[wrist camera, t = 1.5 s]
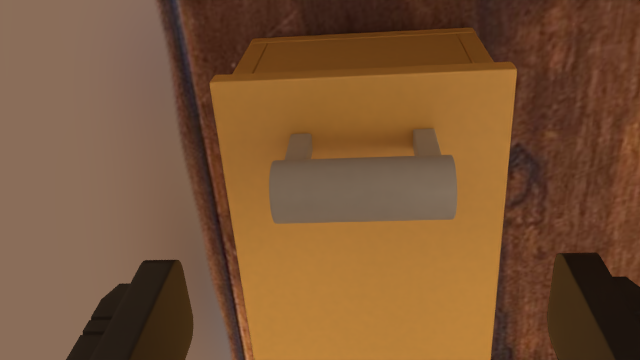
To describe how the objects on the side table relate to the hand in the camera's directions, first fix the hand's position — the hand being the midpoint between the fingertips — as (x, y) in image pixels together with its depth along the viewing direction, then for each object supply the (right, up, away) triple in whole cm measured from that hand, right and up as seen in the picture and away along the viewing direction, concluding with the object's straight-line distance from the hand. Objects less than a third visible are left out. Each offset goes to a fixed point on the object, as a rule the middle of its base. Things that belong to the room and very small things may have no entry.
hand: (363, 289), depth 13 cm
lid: (+1, 0, +10) cm, 10 cm away
